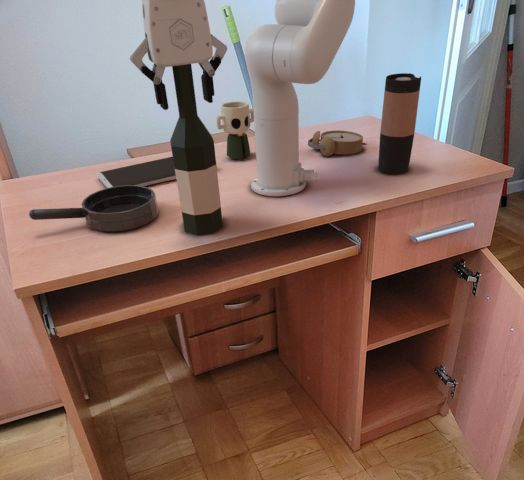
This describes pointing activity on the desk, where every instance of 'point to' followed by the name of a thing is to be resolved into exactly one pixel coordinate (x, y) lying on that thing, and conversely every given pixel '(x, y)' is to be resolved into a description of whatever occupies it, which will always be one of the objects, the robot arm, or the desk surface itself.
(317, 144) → the alarm clock
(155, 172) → the smartphone
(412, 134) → the travel mug
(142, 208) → the pan
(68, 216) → the pan handle
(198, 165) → the wine bottle
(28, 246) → the desk surface
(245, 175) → the desk surface
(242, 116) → the character mug
